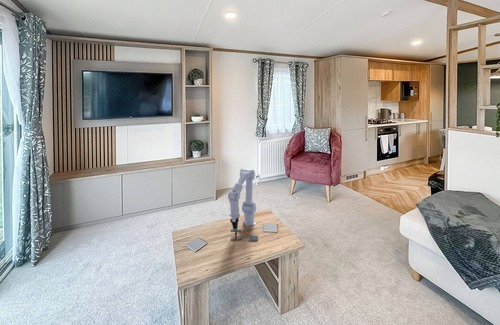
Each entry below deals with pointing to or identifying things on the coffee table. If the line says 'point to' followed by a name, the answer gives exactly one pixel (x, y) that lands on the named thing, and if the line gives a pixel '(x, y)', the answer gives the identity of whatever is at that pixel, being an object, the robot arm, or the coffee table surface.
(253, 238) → the mat
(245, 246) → the coffee table surface
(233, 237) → the stand
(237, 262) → the coffee table surface
